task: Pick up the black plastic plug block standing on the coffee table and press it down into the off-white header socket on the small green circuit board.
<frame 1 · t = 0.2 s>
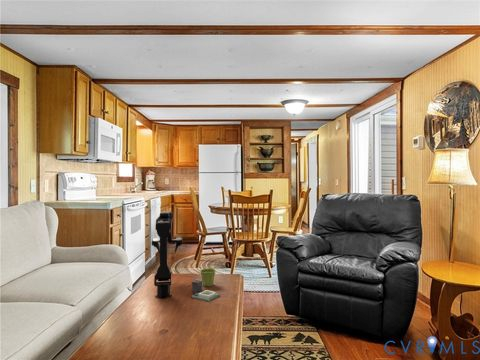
hand: (167, 253, 221), 15 cm above the table, tool pointing down, fingers open, 9 cm apart
plant pot: (207, 285, 207), on the table
board: (205, 296, 187), on the table
plug: (197, 291, 195), on the table
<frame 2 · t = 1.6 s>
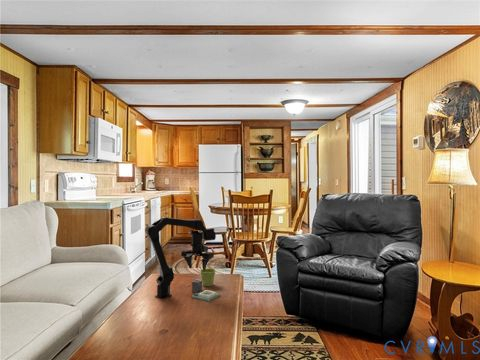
hand: (197, 269, 196), 12 cm above the table, tool pointing down, fingers open, 9 cm apart
nothing on the table moved.
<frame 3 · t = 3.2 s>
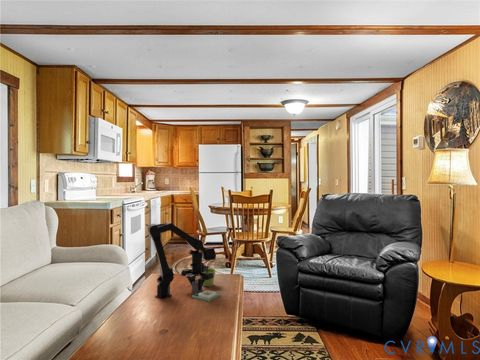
hand: (197, 289, 195), 1 cm above the table, tool pointing down, fingers closed on plug, 4 cm apart
plug: (197, 291, 195), on the table, touching gripper
everything else where it was.
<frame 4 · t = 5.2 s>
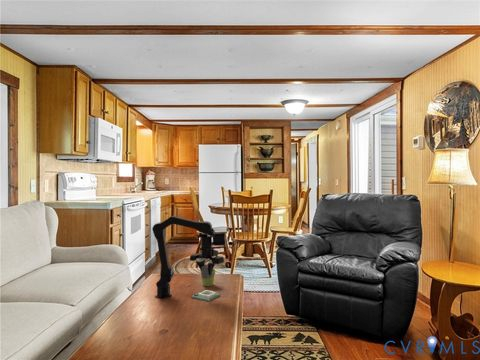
hand: (206, 274, 187), 12 cm above the table, tool pointing down, fingers closed on plug, 4 cm apart
plug: (206, 277, 187), point 10 cm above the table, touching gripper
everything else where it was.
when the fingers open (3 cm above the table, at t = 6.9 s): plug stays where it is, resting on board.
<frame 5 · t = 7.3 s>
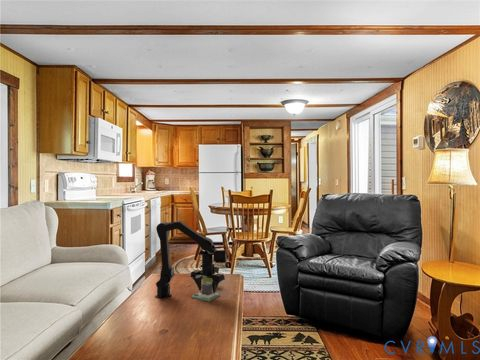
hand: (207, 291, 186), 3 cm above the table, tool pointing down, fingers open, 9 cm apart
plug: (207, 295, 186), point 1 cm above the table, touching board
everything else where it was.
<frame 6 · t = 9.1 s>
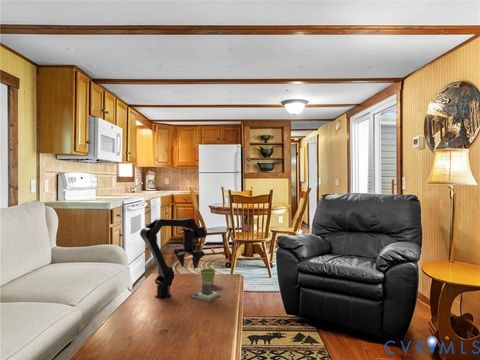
hand: (188, 267, 198), 13 cm above the table, tool pointing down, fingers open, 9 cm apart
nothing on the table moved.
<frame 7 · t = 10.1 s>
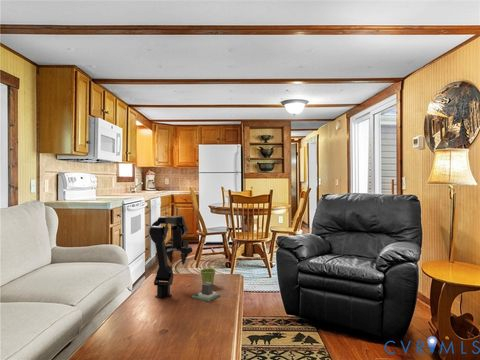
hand: (177, 263, 206), 13 cm above the table, tool pointing down, fingers open, 9 cm apart
nothing on the table moved.
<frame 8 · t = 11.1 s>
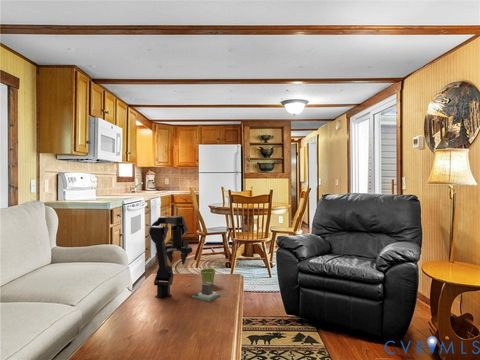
hand: (177, 263, 206), 13 cm above the table, tool pointing down, fingers open, 9 cm apart
nothing on the table moved.
at the end: plug 0.0 cm from the target spot on the board, point 1.0 cm above the board's base; plug tilted 0°; the gripper is holding nothing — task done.
